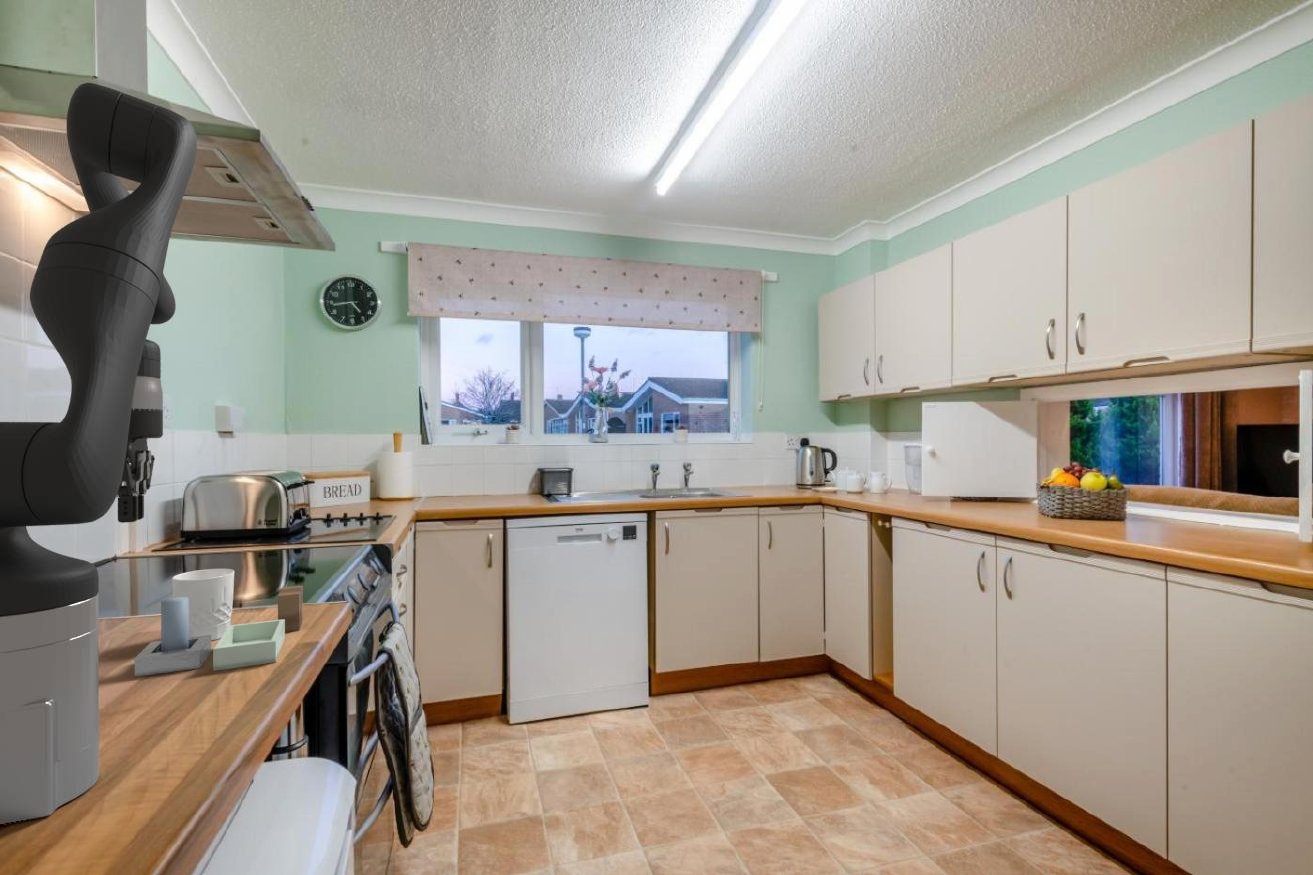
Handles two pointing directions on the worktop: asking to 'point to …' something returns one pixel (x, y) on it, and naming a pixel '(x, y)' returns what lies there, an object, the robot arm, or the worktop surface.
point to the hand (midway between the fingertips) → (131, 520)
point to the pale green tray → (249, 645)
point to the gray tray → (172, 657)
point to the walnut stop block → (291, 607)
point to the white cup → (207, 600)
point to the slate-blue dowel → (174, 624)
